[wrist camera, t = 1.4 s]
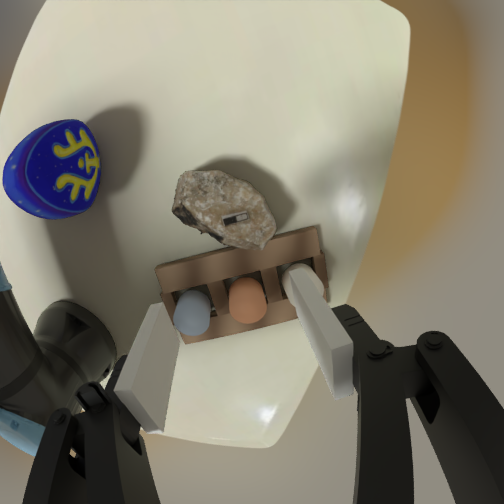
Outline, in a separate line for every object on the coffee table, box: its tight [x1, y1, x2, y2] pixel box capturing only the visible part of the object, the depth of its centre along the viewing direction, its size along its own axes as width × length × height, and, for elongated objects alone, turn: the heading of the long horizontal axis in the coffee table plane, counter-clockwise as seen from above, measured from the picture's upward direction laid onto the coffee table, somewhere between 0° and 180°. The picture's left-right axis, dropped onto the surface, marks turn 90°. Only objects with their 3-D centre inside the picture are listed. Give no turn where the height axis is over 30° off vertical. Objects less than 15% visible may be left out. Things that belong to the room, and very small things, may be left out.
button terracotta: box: [229, 277, 267, 324], centre depth 34 cm, size 4×4×4 cm
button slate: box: [173, 290, 211, 336], centre depth 34 cm, size 4×4×4 cm
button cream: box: [282, 263, 324, 307], centre depth 34 cm, size 4×4×4 cm
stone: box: [172, 170, 277, 250], centre depth 30 cm, size 7×12×7 cm, turn 70°
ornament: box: [3, 119, 101, 219], centre depth 23 cm, size 11×9×15 cm
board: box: [155, 226, 329, 344], centre depth 37 cm, size 22×12×2 cm, turn 103°
